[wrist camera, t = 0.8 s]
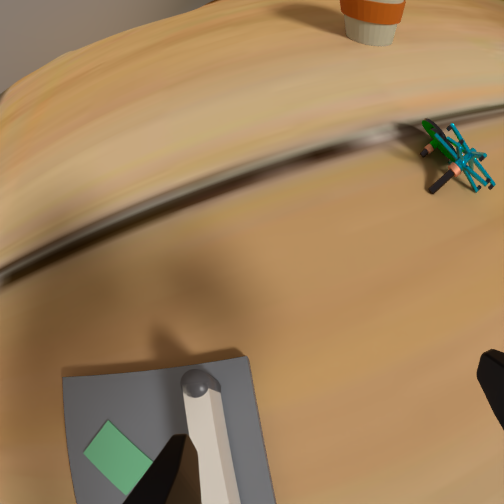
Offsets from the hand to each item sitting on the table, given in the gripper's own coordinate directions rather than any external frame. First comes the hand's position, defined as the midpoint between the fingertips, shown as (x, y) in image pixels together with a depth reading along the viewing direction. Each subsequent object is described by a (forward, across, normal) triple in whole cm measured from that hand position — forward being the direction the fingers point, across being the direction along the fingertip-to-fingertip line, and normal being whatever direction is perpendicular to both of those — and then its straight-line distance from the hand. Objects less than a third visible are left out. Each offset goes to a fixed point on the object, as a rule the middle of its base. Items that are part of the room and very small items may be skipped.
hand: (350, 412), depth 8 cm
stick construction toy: (+25, -20, -1) cm, 32 cm away
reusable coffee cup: (+51, -28, -24) cm, 63 cm away
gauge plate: (+7, +12, +14) cm, 19 cm away
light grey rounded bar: (+6, +7, +13) cm, 16 cm away
